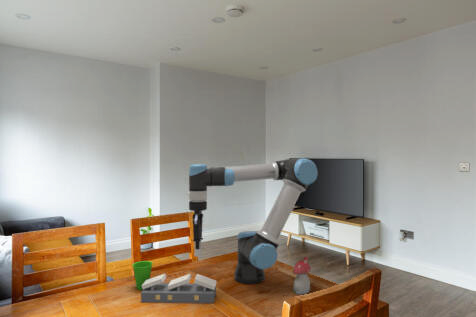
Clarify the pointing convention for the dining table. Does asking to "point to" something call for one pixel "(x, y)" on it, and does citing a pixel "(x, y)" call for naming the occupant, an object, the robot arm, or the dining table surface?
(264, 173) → the robot arm
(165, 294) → the switch unit
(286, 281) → the dining table surface
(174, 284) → the rocker
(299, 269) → the decorative ornament
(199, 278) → the rocker
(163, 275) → the rocker
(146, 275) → the cup
